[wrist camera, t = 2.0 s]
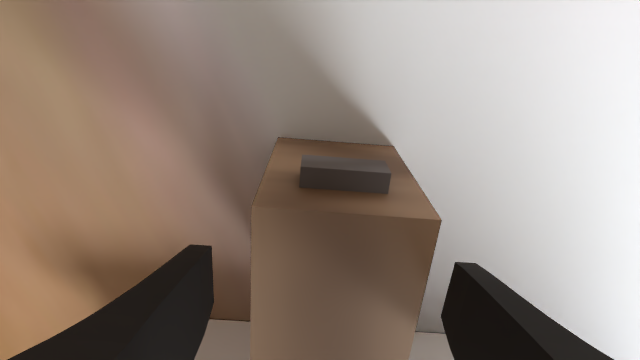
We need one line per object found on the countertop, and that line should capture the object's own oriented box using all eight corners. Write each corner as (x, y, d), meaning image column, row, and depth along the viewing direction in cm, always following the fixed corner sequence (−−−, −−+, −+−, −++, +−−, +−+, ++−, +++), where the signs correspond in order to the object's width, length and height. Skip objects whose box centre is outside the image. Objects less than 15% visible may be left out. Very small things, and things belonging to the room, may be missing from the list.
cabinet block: (395, 130, 14) (446, 196, 8) (372, 272, 16) (400, 395, 11) (278, 121, 14) (251, 183, 8) (273, 265, 16) (249, 387, 11)
